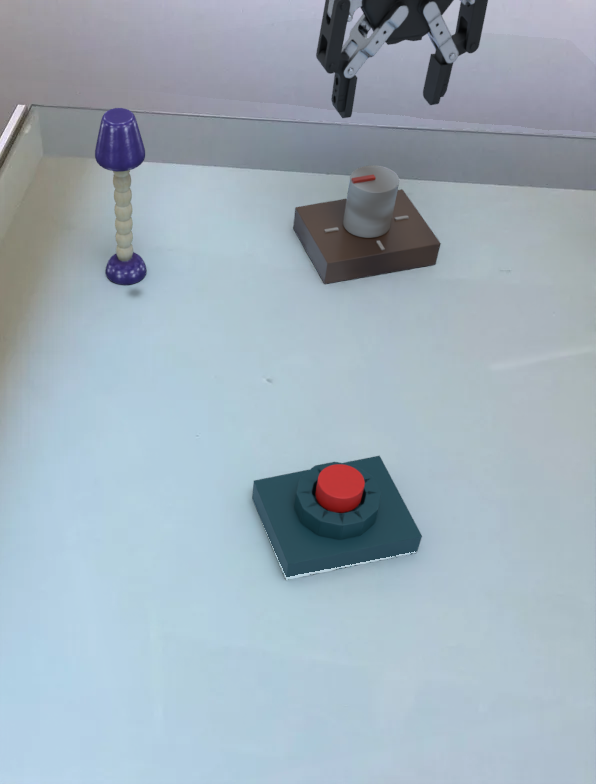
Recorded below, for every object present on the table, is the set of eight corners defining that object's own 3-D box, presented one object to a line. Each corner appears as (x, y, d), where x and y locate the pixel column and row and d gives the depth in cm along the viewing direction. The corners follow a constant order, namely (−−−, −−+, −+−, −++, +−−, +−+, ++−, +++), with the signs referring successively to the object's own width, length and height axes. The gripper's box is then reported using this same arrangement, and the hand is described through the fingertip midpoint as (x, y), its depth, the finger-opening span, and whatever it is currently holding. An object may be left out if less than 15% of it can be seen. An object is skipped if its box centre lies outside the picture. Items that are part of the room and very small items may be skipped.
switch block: (375, 473, 82) (383, 439, 79) (416, 553, 77) (427, 521, 74) (251, 498, 81) (254, 465, 77) (285, 581, 76) (290, 549, 72)
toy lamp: (157, 277, 98) (154, 117, 85) (119, 294, 97) (110, 134, 83) (131, 254, 101) (124, 94, 87) (94, 271, 99) (81, 111, 86)
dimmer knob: (380, 207, 100) (389, 159, 96) (397, 233, 97) (407, 185, 93) (336, 214, 99) (343, 166, 95) (352, 241, 97) (360, 192, 92)
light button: (351, 475, 77) (355, 460, 76) (368, 508, 75) (371, 493, 74) (309, 483, 77) (311, 468, 75) (324, 517, 75) (327, 502, 73)
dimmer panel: (398, 210, 104) (403, 187, 102) (435, 264, 98) (441, 241, 96) (292, 228, 103) (295, 205, 100) (324, 284, 97) (327, 261, 95)
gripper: (356, -70, 72) (327, 140, 85) (531, -92, 74) (476, 116, 87) (322, -107, 76) (300, 98, 89) (488, -128, 78) (442, 76, 91)
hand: (387, 107), depth 88 cm, fingers open, 8 cm apart
